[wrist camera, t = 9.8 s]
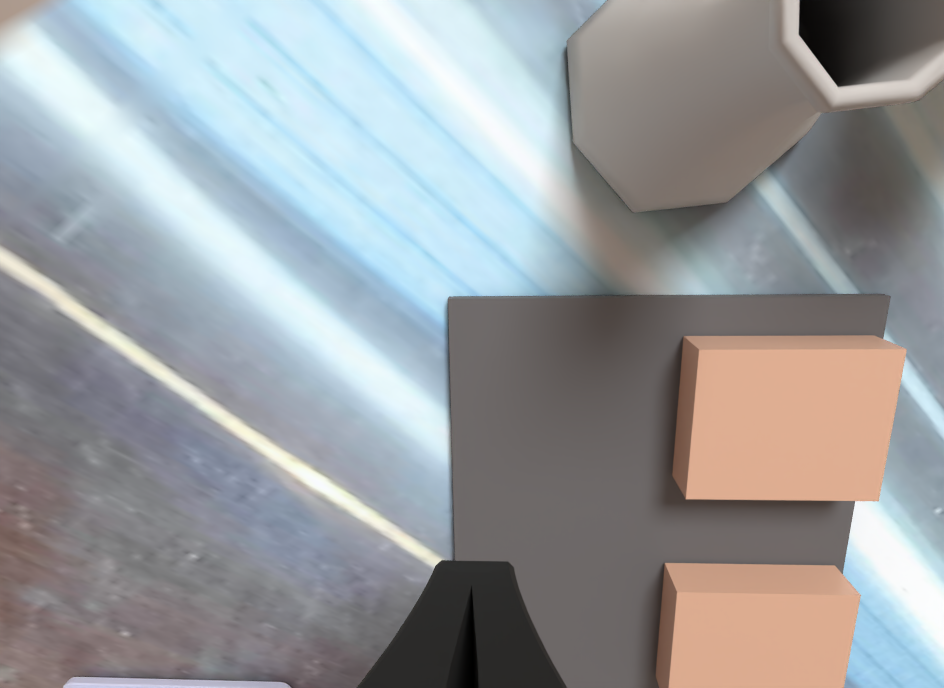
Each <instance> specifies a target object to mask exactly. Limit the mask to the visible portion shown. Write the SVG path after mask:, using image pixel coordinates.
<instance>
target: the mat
mask: <svg viewBox="0 0 944 688" xmlns="http://www.w3.org/2000/svg"><path fill="white" fill-rule="evenodd" d="M889 302H890V296H888V295H885V294H777V295H618V296H458V297H449V298H448V317H449V355H450V393H451V431H452V469H453V507H454V544H455V561H508V562H509V563H510V564H511V565H512V566H513V567H514V571H515V576H516V580H517V583H518V586H519V590H520V592H521V595H522V598H523V601H524V603H525V606H526V608H527V611H528V613H529V615H530V618H531V620H532V622H533V624H534V626H535V628H536V630H537V633H538V635H539V637H540V639H541V641H542V643H543V645H544V647H545V649H546V651H547V653H548V655H549V656H550V658H551V660H552V662H553V664H554V666H555V668H556V669H557V671H558V673H559V674H560V676H561V678H562V680H563V681H564V683H565V685H566V687H567V688H659V685H658V682H657V679H656V664H657V652H658V639H659V627H660V615H661V602H662V590H663V578H664V565H665V563H705V564H772V565H835V566H836V567H837V568H838V570H839V571H840V572H841V573H842V574H843V568H844V562H845V556H846V550H847V545H848V539H849V533H850V527H851V522H852V516H853V510H854V504H855V501H812V500H711V499H685V497H684V495H683V493H682V492H681V490H680V488H679V486H678V485H677V483H676V481H675V479H674V478H673V476H672V472H673V460H674V448H675V435H676V423H677V411H678V398H679V386H680V374H681V361H682V349H683V337H684V336H840V335H874V336H877V337H879V338H882V339H883V337H884V331H885V325H886V319H887V314H888V308H889Z"/></svg>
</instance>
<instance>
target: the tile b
mask: <svg viewBox="0 0 944 688" xmlns="http://www.w3.org/2000/svg"><path fill="white" fill-rule="evenodd" d="M906 350H907V349H905V348H903V347H900V346H898V345H896V344H893V343H891V342H889V341H886V340H884V339H882V338H879V337H877V336H874V335H840V336H684V337H683V349H682V361H681V374H680V386H679V398H678V411H677V423H676V435H675V448H674V460H673V472H672V476H673V478H674V479H675V481H676V483H677V485H678V486H679V488H680V490H681V492H682V493H683V495H684V497H685V499H711V500H812V501H879V496H880V491H881V485H882V480H883V475H884V469H885V464H886V458H887V453H888V447H889V442H890V437H891V431H892V426H893V420H894V415H895V410H896V404H897V399H898V393H899V388H900V383H901V377H902V372H903V366H904V361H905V356H906Z"/></svg>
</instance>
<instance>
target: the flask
mask: <svg viewBox="0 0 944 688" xmlns="http://www.w3.org/2000/svg"><path fill="white" fill-rule="evenodd" d="M567 54H568V69H569V85H570V101H571V117H572V132H573V143H574V144H575V145H576V147H577V148H578V149H579V150H580V151H581V152H582V154H583V155H584V156H585V157H586V158H587V159H588V161H589V162H590V163H591V164H592V165H593V166H594V168H595V169H596V170H597V171H598V172H599V173H600V175H601V176H602V177H603V178H604V179H605V180H606V182H607V183H608V184H609V185H610V186H611V187H612V189H613V190H614V191H615V192H616V193H617V194H618V196H619V197H620V198H621V199H622V200H623V201H624V203H625V204H626V205H627V206H628V207H629V208H630V210H631V211H632V212H633V213H635V212H645V211H654V210H663V209H672V208H682V207H691V206H700V205H709V204H718V203H727V202H728V201H729V200H730V199H732V198H733V197H734V196H735V195H736V194H737V193H739V192H740V191H741V190H742V189H743V188H744V187H746V186H747V185H748V184H749V183H750V182H751V181H753V180H754V179H755V178H756V177H757V176H758V175H760V174H761V173H762V172H763V171H764V170H765V169H767V168H768V167H769V166H770V165H771V164H772V163H774V162H775V161H776V160H777V159H778V158H779V157H781V156H782V155H783V154H784V153H785V152H786V151H788V150H789V149H790V148H791V147H792V146H793V145H795V144H796V143H797V142H798V141H799V140H800V139H802V138H803V137H804V136H805V135H806V134H807V133H808V132H809V130H810V129H811V128H812V126H813V125H814V123H815V122H816V120H817V119H818V117H819V116H820V114H821V113H829V112H838V111H846V110H854V109H863V108H871V107H880V106H888V105H897V104H905V103H911V102H915V101H918V100H920V99H921V98H922V97H924V96H925V95H926V94H927V93H928V92H930V91H931V90H932V89H933V88H934V87H936V86H937V85H938V84H939V83H940V82H942V81H943V80H944V0H607V1H606V2H605V3H604V4H603V5H602V6H601V7H600V8H599V9H598V10H597V11H596V12H595V13H594V14H593V15H592V16H591V17H590V18H589V19H588V20H587V21H586V22H585V23H584V24H583V25H582V26H581V27H580V28H579V29H578V30H577V31H576V32H575V33H574V34H573V35H572V36H571V37H570V38H569V39H568V40H567Z"/></svg>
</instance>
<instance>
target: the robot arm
mask: <svg viewBox="0 0 944 688" xmlns="http://www.w3.org/2000/svg"><path fill="white" fill-rule="evenodd" d="M63 688H291V687H290V686H289V685H288V684H286V683H283V682H262V681H222V680H182V679H142V678H102V677H72V678H71V679H69V680H68V681H67V683H66V684H65V685H64V686H63ZM357 688H567V687H566V685H565V683H564V681H563V680H562V678H561V676H560V674H559V673H558V671H557V669H556V668H555V666H554V664H553V662H552V660H551V658H550V656H549V655H548V653H547V651H546V649H545V647H544V645H543V643H542V641H541V639H540V637H539V635H538V633H537V630H536V628H535V626H534V624H533V622H532V620H531V618H530V615H529V613H528V611H527V608H526V606H525V603H524V601H523V598H522V595H521V592H520V590H519V586H518V583H517V580H516V576H515V571H514V567H513V566H512V565H511V564H510V563H509V562H508V561H445V560H442V561H441V562H439V563H438V564H437V565H436V566H435V569H434V571H433V573H432V575H431V577H430V579H429V581H428V583H427V585H426V587H425V589H424V591H423V592H422V594H421V596H420V598H419V599H418V601H417V603H416V604H415V606H414V608H413V609H412V611H411V613H410V614H409V616H408V617H407V619H406V620H405V622H404V623H403V625H402V626H401V628H400V630H399V631H398V633H397V634H396V636H395V637H394V639H393V640H392V642H391V643H390V644H389V646H388V647H387V649H386V650H385V651H384V653H383V654H382V655H381V657H380V658H379V659H378V661H377V662H376V663H375V665H374V666H373V667H372V669H371V670H370V671H369V673H368V674H367V675H366V677H365V678H364V679H363V680H362V682H361V683H360V684H359V685H358V687H357Z"/></svg>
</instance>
